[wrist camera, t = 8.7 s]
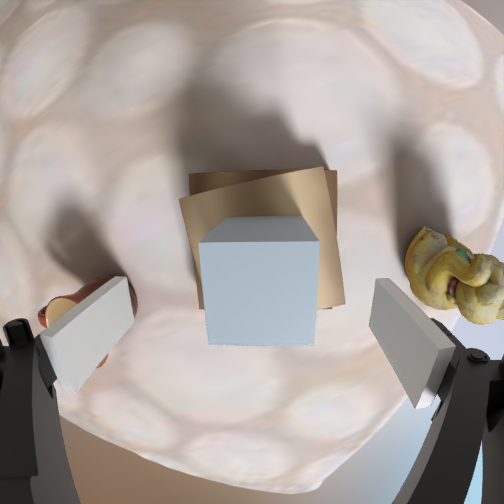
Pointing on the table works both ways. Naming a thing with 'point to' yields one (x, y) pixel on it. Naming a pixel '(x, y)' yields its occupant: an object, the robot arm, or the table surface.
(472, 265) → the decorative figurine
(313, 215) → the slab upper
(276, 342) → the block
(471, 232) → the table surface
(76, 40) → the table surface
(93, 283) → the mug
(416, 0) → the table surface
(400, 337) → the robot arm
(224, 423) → the table surface
